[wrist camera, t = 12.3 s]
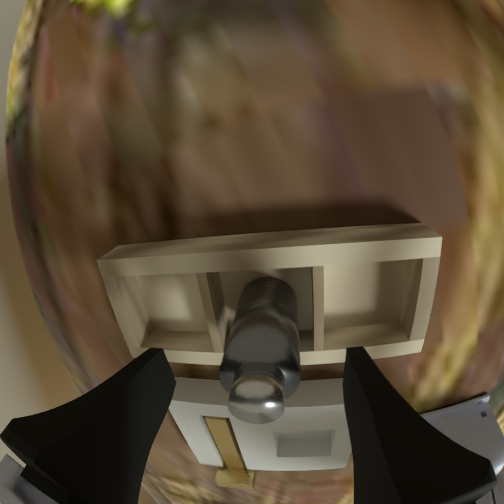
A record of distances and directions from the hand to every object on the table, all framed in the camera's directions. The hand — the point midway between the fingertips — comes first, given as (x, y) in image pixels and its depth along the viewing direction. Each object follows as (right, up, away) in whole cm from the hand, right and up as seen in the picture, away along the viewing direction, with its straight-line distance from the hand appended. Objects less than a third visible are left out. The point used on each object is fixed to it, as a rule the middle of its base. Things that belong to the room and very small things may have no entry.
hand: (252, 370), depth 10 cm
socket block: (+1, -10, +11) cm, 15 cm away
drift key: (-2, -12, +12) cm, 17 cm away
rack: (+1, +2, +6) cm, 6 cm away
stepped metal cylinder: (+1, +2, +6) cm, 6 cm away
